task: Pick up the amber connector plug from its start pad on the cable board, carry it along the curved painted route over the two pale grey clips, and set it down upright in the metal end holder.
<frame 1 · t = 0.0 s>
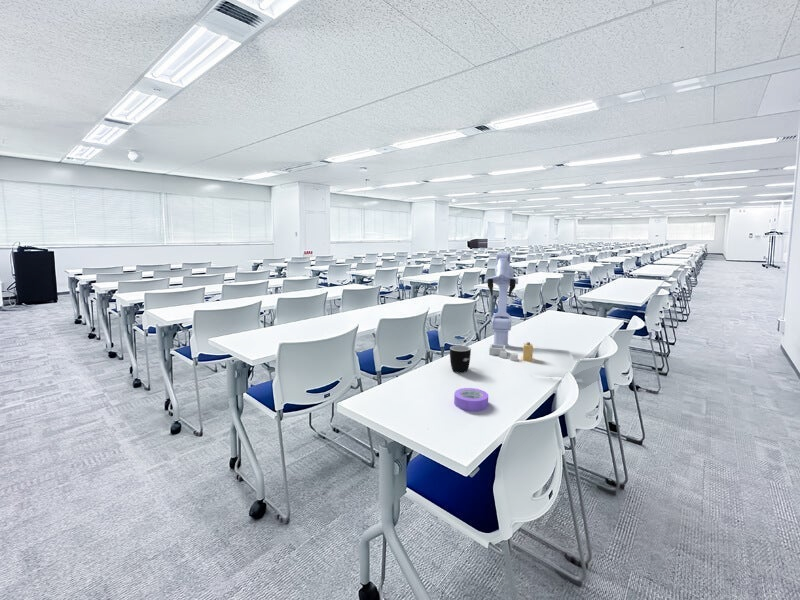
hand: (500, 294, 169), 32 cm above the table, tool tilted 50°, fingers open, 7 cm apart
connector plug: (527, 359, 177), point 1 cm above the table, touching cable board
cable board: (511, 358, 182), on the table
masking tape: (470, 404, 133), on the table
mug: (461, 369, 167), on the table
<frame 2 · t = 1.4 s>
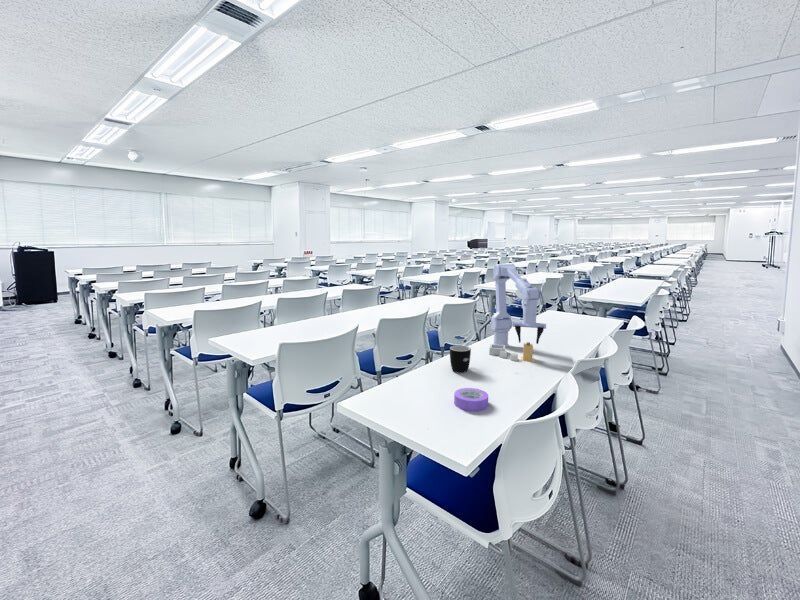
hand: (528, 342, 175), 9 cm above the table, tool pointing down, fingers open, 7 cm apart
nothing on the table moved.
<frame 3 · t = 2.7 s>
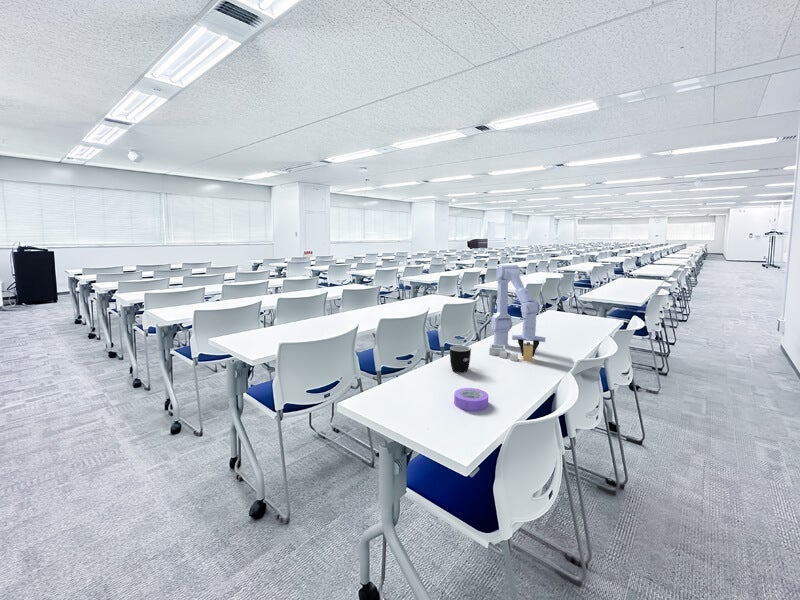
hand: (527, 355, 177), 3 cm above the table, tool pointing down, fingers closed on connector plug, 4 cm apart
connector plug: (527, 359, 177), point 1 cm above the table, touching cable board, gripper
everything else where it was.
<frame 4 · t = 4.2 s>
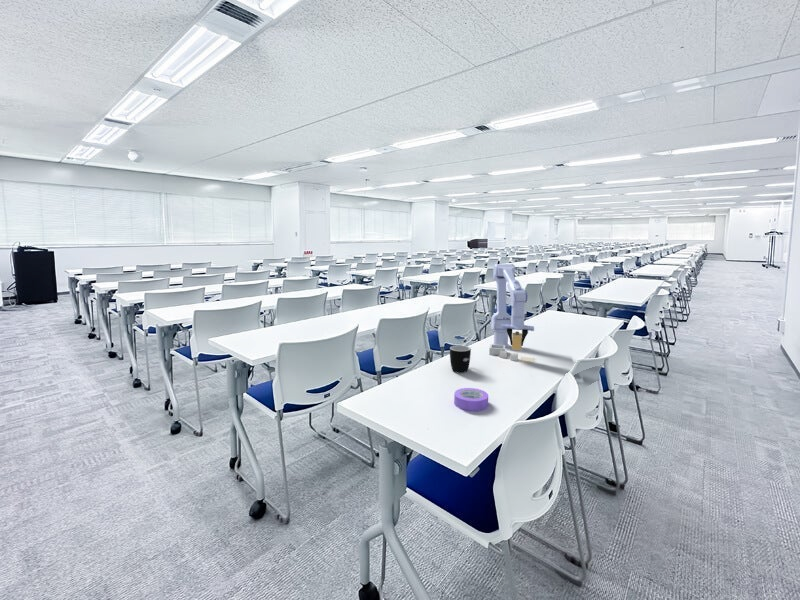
hand: (516, 345, 176), 8 cm above the table, tool pointing down, fingers closed on connector plug, 4 cm apart
connector plug: (516, 348, 176), point 6 cm above the table, touching gripper
everything else where it was.
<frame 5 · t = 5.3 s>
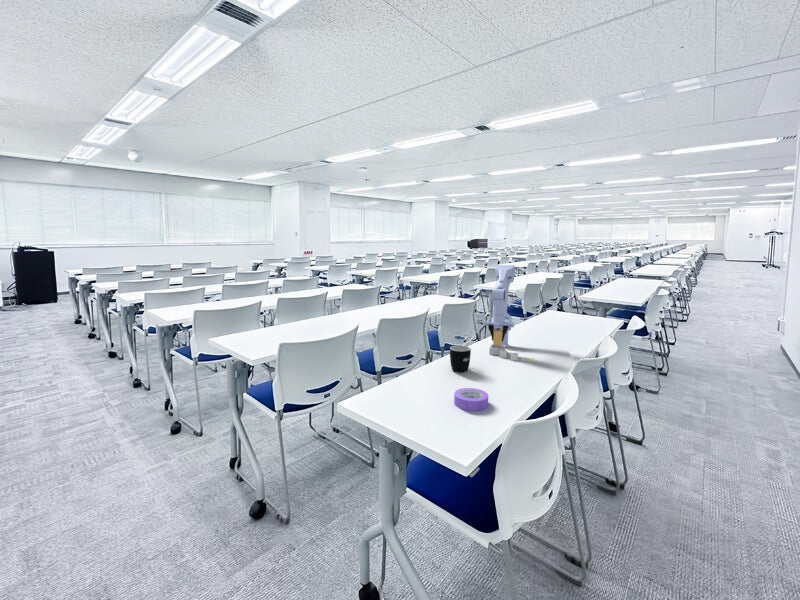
hand: (497, 340, 185), 8 cm above the table, tool pointing down, fingers closed on connector plug, 4 cm apart
connector plug: (497, 344, 186), point 6 cm above the table, touching gripper
everything else where it was.
when the fingers open (5 cm above the table, at t = 6.1 s): connector plug drops 2 cm, resting on cable board.
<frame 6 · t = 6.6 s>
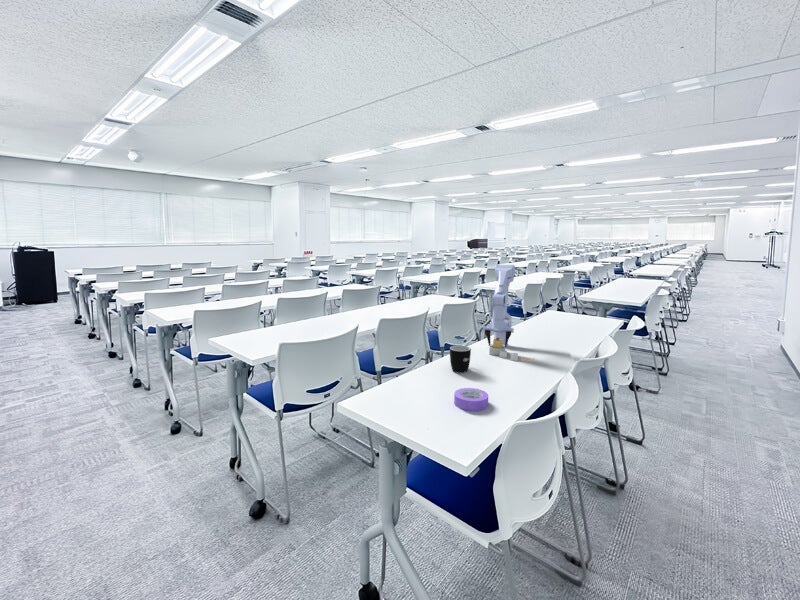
hand: (497, 345, 186), 5 cm above the table, tool pointing down, fingers open, 7 cm apart
connector plug: (497, 353, 186), point 1 cm above the table, touching cable board
everything else where it was.
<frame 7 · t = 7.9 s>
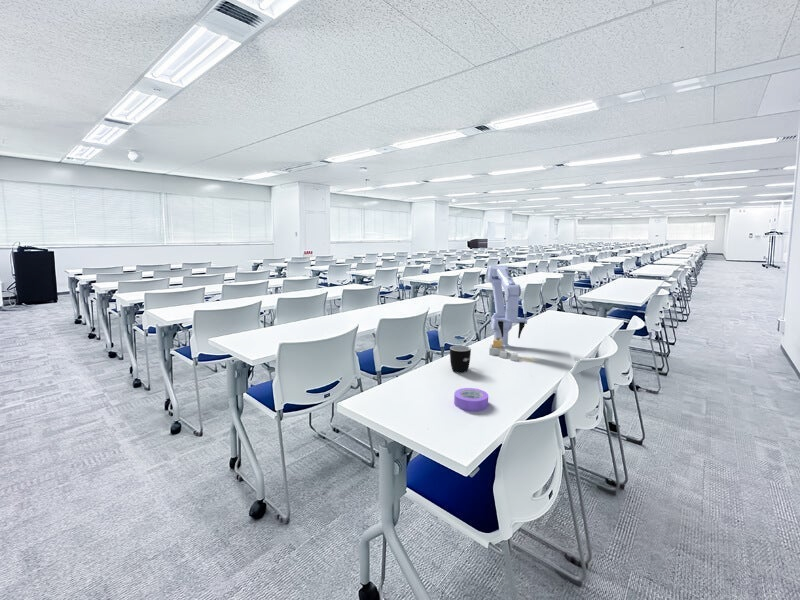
hand: (510, 337, 184), 9 cm above the table, tool pointing down, fingers open, 7 cm apart
nothing on the table moved.
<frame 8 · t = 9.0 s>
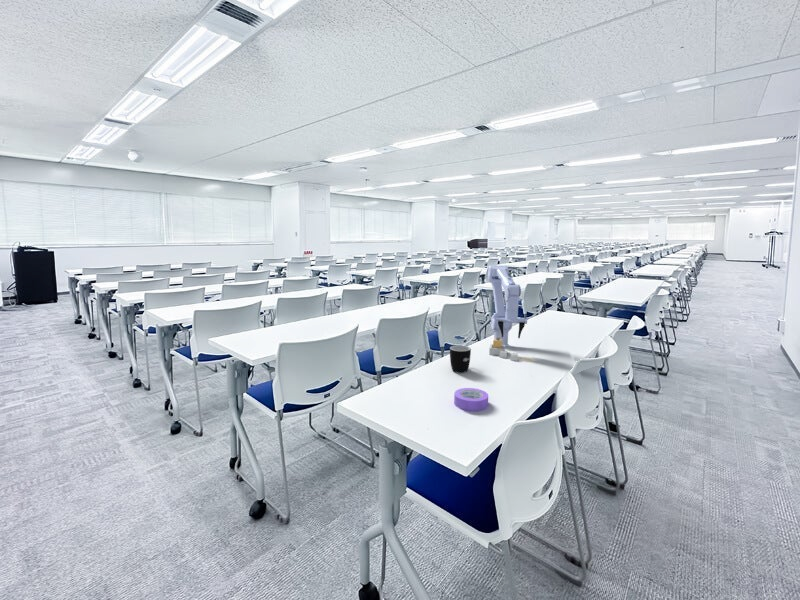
hand: (510, 337, 184), 9 cm above the table, tool pointing down, fingers open, 7 cm apart
nothing on the table moved.
at the end: connector plug 0.1 cm from the target spot on the cable board, point 1.0 cm above the cable board's base; connector plug tilted 0°; the gripper is holding nothing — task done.
